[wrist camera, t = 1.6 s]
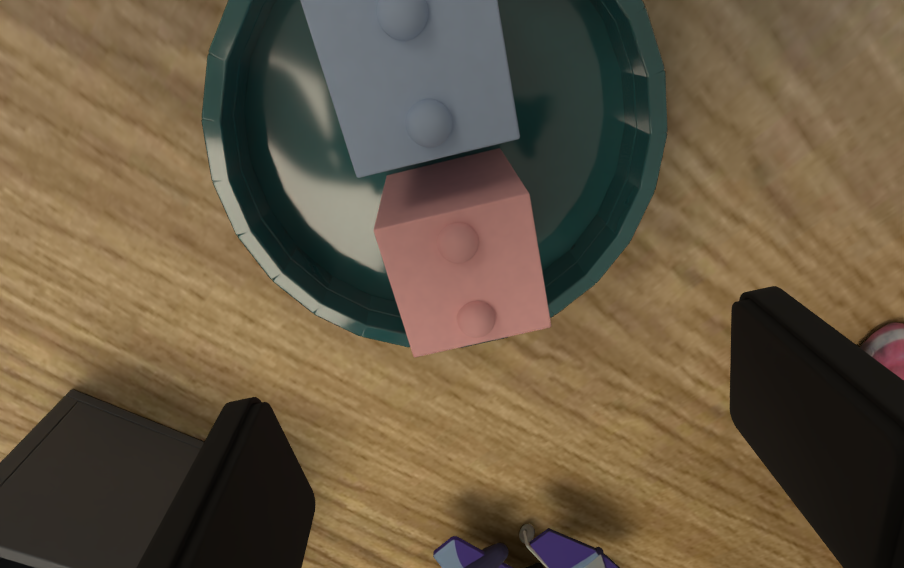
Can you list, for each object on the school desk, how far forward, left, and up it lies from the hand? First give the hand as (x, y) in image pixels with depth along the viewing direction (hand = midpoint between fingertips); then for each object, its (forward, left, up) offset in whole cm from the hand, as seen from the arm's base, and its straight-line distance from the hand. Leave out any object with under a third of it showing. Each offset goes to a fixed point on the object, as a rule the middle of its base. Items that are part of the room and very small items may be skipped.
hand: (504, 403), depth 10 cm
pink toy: (0, 0, -12) cm, 12 cm away
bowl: (-3, 0, -12) cm, 13 cm away
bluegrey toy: (-6, 0, -12) cm, 13 cm away
